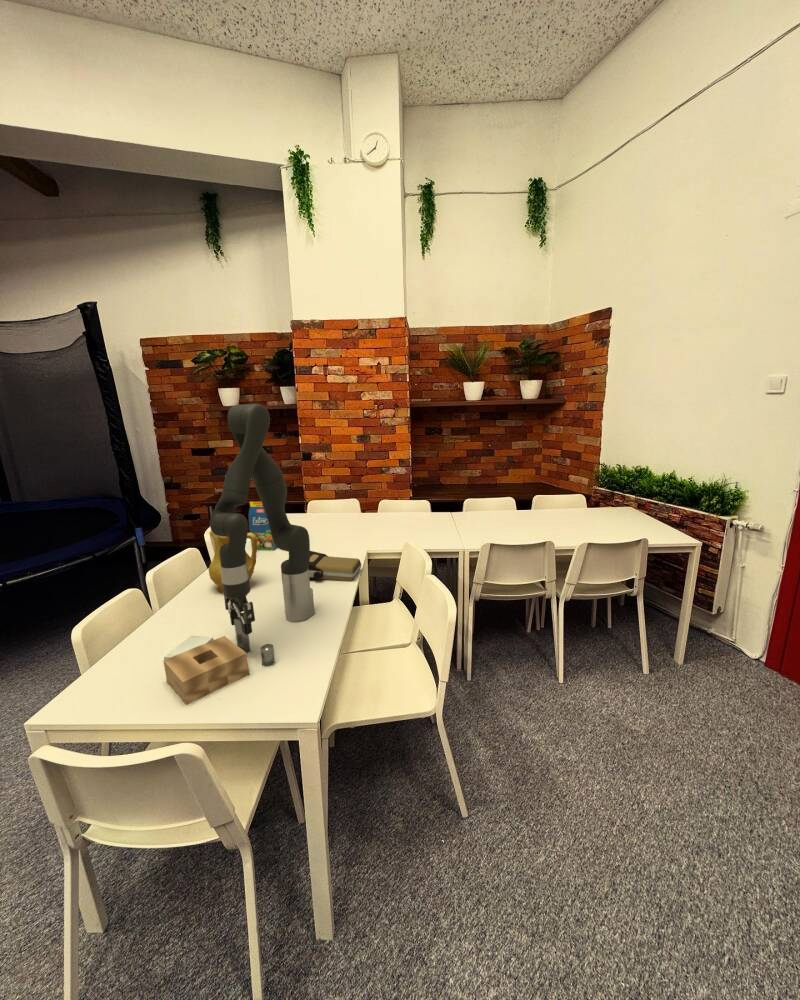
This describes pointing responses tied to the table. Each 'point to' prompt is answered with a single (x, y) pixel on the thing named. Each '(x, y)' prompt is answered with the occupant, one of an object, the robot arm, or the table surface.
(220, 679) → the guide block
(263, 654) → the short pin
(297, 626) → the table surface
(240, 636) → the long pin
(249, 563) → the pitcher
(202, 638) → the hard drive
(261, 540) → the blue food package
